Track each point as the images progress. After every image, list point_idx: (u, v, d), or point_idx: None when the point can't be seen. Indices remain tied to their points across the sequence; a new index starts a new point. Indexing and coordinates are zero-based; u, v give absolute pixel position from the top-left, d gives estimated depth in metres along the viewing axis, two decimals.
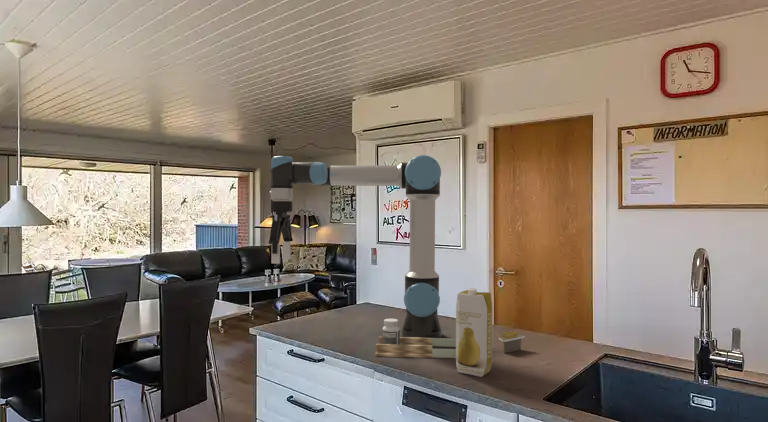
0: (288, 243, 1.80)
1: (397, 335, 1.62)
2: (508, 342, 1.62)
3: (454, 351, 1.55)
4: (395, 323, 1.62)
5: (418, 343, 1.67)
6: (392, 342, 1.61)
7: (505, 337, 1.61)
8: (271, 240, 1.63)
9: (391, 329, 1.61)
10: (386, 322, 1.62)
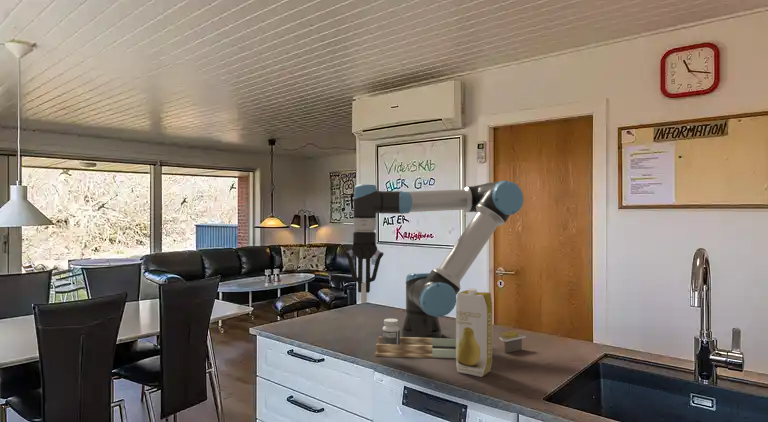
0: None
1: (397, 335, 1.62)
2: (509, 342, 1.62)
3: (454, 351, 1.55)
4: (395, 323, 1.62)
5: (418, 343, 1.67)
6: (392, 342, 1.61)
7: (506, 337, 1.62)
8: (374, 279, 1.64)
9: (391, 329, 1.61)
10: (386, 322, 1.62)
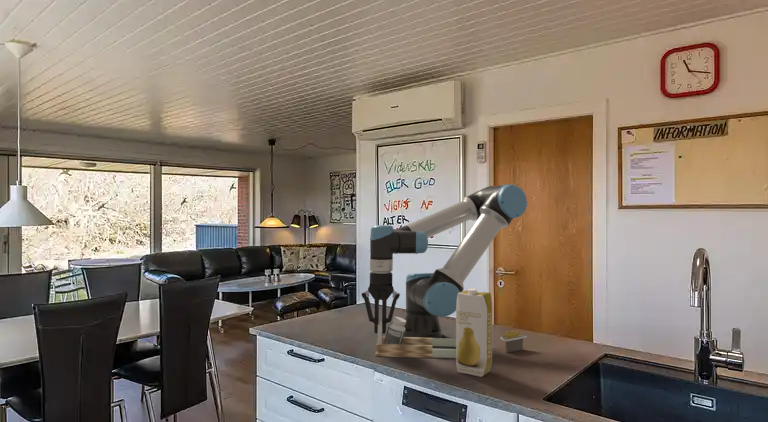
0: None
1: (402, 335, 1.62)
2: (510, 342, 1.62)
3: (454, 351, 1.55)
4: (403, 323, 1.61)
5: (418, 343, 1.67)
6: (395, 341, 1.61)
7: (507, 337, 1.62)
8: (390, 320, 1.63)
9: (397, 328, 1.61)
10: (394, 320, 1.61)
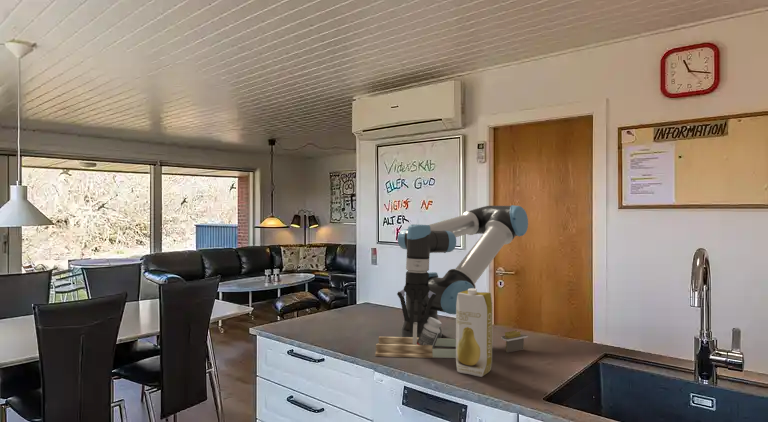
0: None
1: (436, 337, 1.60)
2: (511, 341, 1.62)
3: (454, 351, 1.55)
4: (438, 325, 1.60)
5: None
6: (429, 342, 1.59)
7: (508, 336, 1.62)
8: (426, 321, 1.62)
9: (432, 328, 1.59)
10: (430, 321, 1.60)
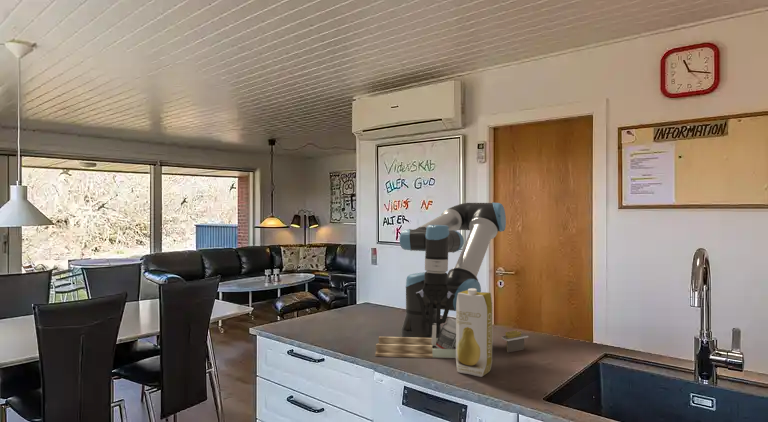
0: None
1: (455, 338, 1.59)
2: (511, 341, 1.63)
3: (454, 351, 1.55)
4: None
5: (418, 343, 1.67)
6: (448, 342, 1.59)
7: (508, 336, 1.62)
8: (445, 321, 1.61)
9: (452, 329, 1.59)
10: (449, 321, 1.60)
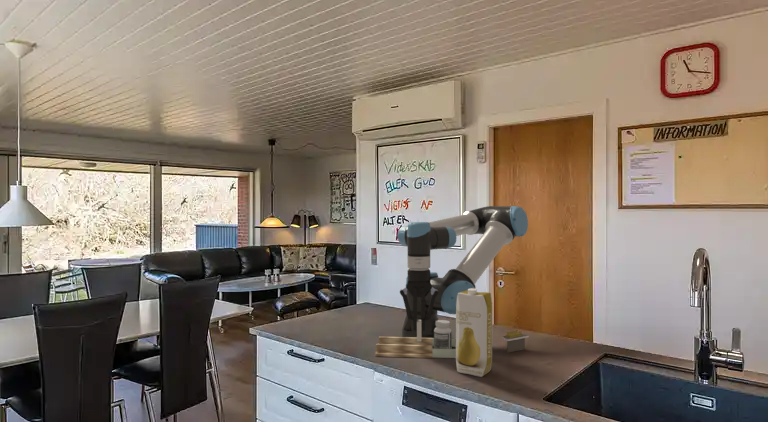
0: None
1: (449, 337, 1.60)
2: (512, 341, 1.63)
3: (454, 351, 1.55)
4: (447, 325, 1.60)
5: (418, 343, 1.67)
6: (444, 344, 1.59)
7: (509, 336, 1.62)
8: (429, 317, 1.62)
9: (442, 330, 1.59)
10: (438, 324, 1.60)
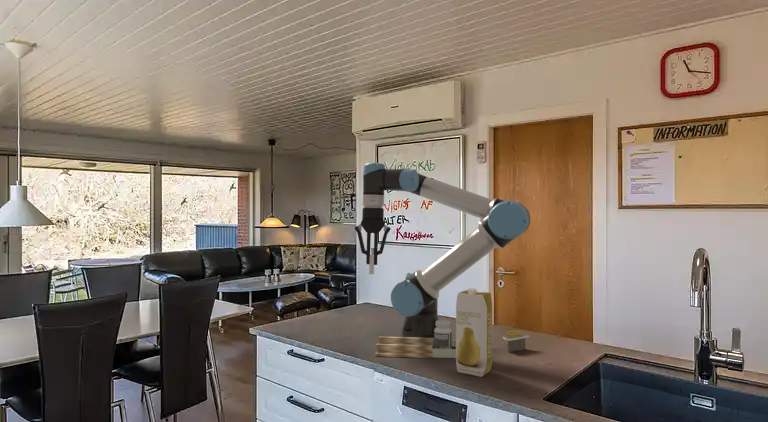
0: None
1: (449, 337, 1.60)
2: (512, 341, 1.63)
3: (454, 351, 1.55)
4: (447, 325, 1.60)
5: (418, 343, 1.67)
6: (444, 344, 1.59)
7: (509, 336, 1.63)
8: None
9: (442, 330, 1.59)
10: (438, 324, 1.60)
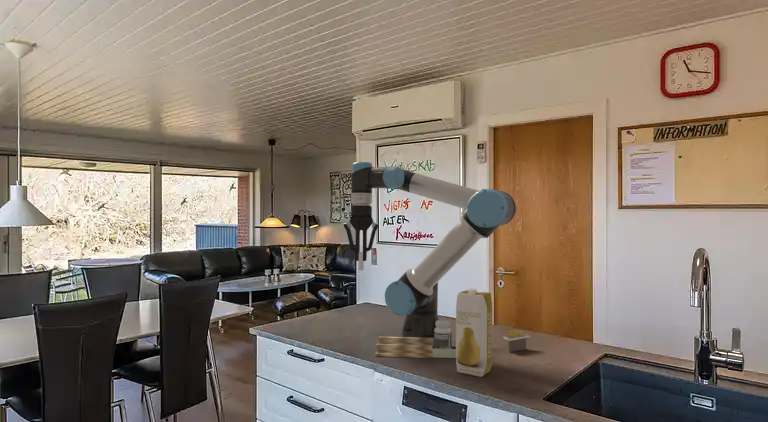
0: None
1: (449, 337, 1.60)
2: (513, 341, 1.63)
3: (454, 351, 1.55)
4: (447, 325, 1.60)
5: (418, 343, 1.67)
6: (444, 344, 1.59)
7: (510, 336, 1.63)
8: (370, 249, 1.79)
9: (442, 330, 1.59)
10: (438, 324, 1.60)
